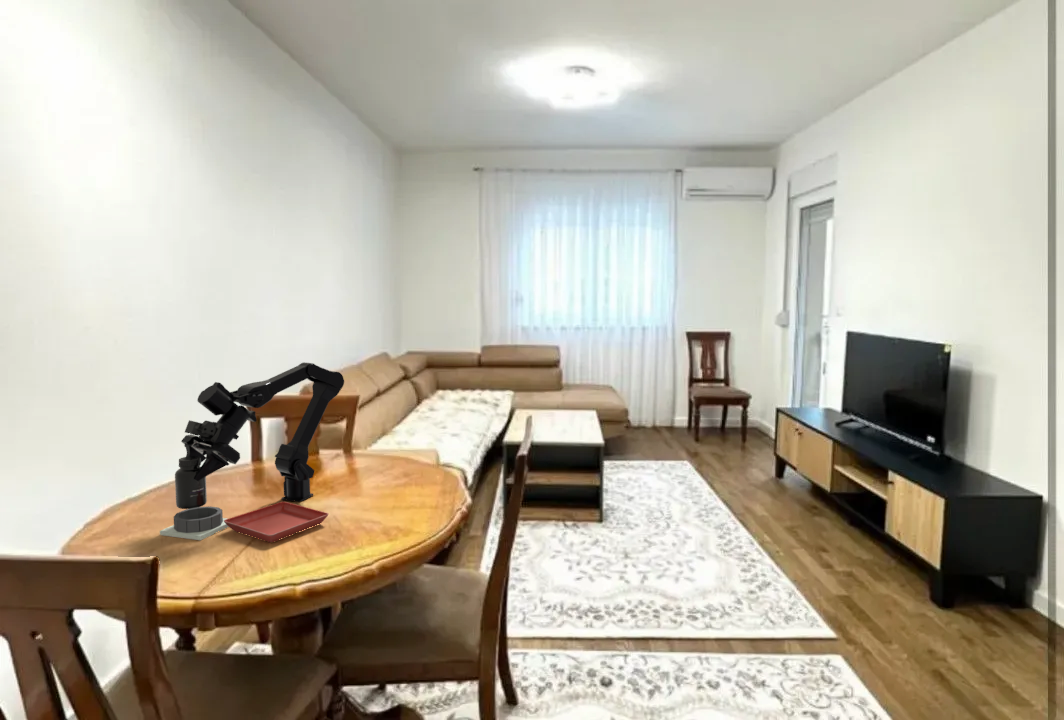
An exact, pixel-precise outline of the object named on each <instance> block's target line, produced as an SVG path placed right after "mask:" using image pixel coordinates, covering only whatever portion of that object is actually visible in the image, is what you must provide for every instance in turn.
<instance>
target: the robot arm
mask: <svg viewBox="0 0 1064 720" xmlns="http://www.w3.org/2000/svg"><path fill="white" fill-rule="evenodd" d="M305 380H308V381H310V382H312V385H311V387H312V396H311V399H310V401H309V403H308V405H307V407H306V409H305V411H304V414H303V416H302V418H301V420H300V421H299V424H298V426H297V429H296V430H295V433H294V435H293V437H292V439H291V440H290V441H289V442H288V443H287V444H285V443H281V444H280V445H279V449H278V451H277V453H276V454H275V455H274V458H275V460H274V465H275V468H276V470H277V471H278V472H279V474H280V476H281V477H284V480H283V496H282V497H281V501H282V500H283V501H291V502H298V503H299V502H302V501H305V500H307V499H309V498H311V497H313V496H314V493H311V481H310V479H312V478H313V477H314V473H315V469H314V468H313V467H311V466H310V465H309V464H308V460H309V458H310V457H309V445H310V443H311V442H312V439H313V437H314V436H315V433H316V430H317V428H318V426H319V424H320V422H321V420H322V417H323V416H324V413H325V411H326V409H327V408H328V405H329V403H330V402H331V401H332V400H333V399H335V398H336V397H337V396H338V394H339V393H340V392H341V391H342V388H343V387H344V385H345V379H344V376H343V374H342V373H341V372H339V371H333V370H328V369H326V368H324V367H321V366H318V365H317V364H315V363H312V362H300V363H299V364H298V365H296V366H294V367H292V368H289V369H288V370H286V371H284V372H281V373H279V374H277V375H274V376H272V377H270V378H268V379H265V380H262V381H255V382H254V381H253V382H251V383H246V384H242V385H241V386H239V387H238V388H237V390H233V391H230V390H228V389H227V388H226V387H225V386H224V384H222V383H221V382H216V381H215V382H214V383H213V384H212V385H209V386H208V387H206V388H205V389H203V390H202V391H201V392H200V393H199V394H198V397H197V400H196V401H197V403H198V404H200V405H202V406H203V407H204V408H205V409H206V410H208V411H209V412H210V413H211V414H212V415H214V416H220V415H221V416H220V418H219V419H218V420H217V421H216V422H215V421H210V420H204V421H203V422H198V421H195V420H188V422H187V424H186V427H185V429H184V433H185V434H186V435H184V437H183V438H182V439H181V441H180V442H181V443H182V444H183V446H184V448H185V449H186V450H185V452H186V454H185V457H188V456H199V457H200V458H201V463H202V464H201V465H200V467H201V468H200V469H199V471H198V472H197V474H196V476H195V478H194V479H195V480H196V481H199V480H201V479H202V478H204V477H206V478H207V476H209V475H211V474H212V473H215V472H217V471H218V470H220V469H222V468H224V467H226V466H230V464H232V465H237V463H238V462H239V461H240V459H241V453H240V452H239V451H238V450H236V449H235V448H233V446H231V445H230V444H231V442H232V441H233V440H236V441H237V439H238V438H239V435H238V433H239V432H240V431H241V429H242V428H243V427H244V425H245V424H246V423H247V422H248V421H249V422H252V423H253V422H254V423H256V422H258V421H257V420H258V419H257V416H256V411H254V410H249V409H248V408H254V409H259V408H262V407H263V406H264V405H266V404H268V403H269V402H270V401H272V399H273V398H274V397H275V396H276V395H277V394H279V393H280V392H282V391H285V390H287V389H288V388H291V387H293V386H295V385H297V384H299V383H301V382H303V381H305ZM237 403H238V404H239V405H238V404H237ZM247 407H248V408H247Z"/></svg>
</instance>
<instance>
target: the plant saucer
mask: <svg viewBox="0 0 1064 720" xmlns="http://www.w3.org/2000/svg"><path fill="white" fill-rule="evenodd" d="M328 516H329V513H328V512H325V511H321V510H318V509H315V508H310V507H307V506H303V505H299V504H296V503H291V502H287V501H280V502H277V503H274V504H271V505H270V504H269V505H267V506H264V507H260V508H259V509H255V510H252V511H248V512H245V513H242V514H239V515H236V516H233V517H229V518H227V519H226V520H224V522H225V523H226V524H227V525H228V526H229V527H228V528H230V529H231V530H232V531H233V532H235V531H236V532H235V533H238V532H240V533H239V534H241V533H243V534H242V535H244V534H247V535H246V536H248V535H250V536H249V537H251V536H253V537H252V538H254V537H256V538H255V539H257V538H259V539H258V540H260V539H262V540H261V541H263V540H265V541H264V542H266V541H268V542H267V543H270V542H273V543H275V542H274V541H276V542H278V541H277V540H279V539H281V538H284V537H286V536H289V535H292V534H294V533H296V532H299V531H302V530H304V529H307V528H309V527H312V526H315V525H317V524H320V523H321V524H322V523H323V522H324V521H325V520H326V519H327V517H328ZM321 524H320V525H321ZM315 527H316V526H315ZM302 532H303V531H302ZM294 535H295V534H294ZM292 536H293V535H292ZM289 537H290V536H289ZM286 538H287V537H286ZM284 539H285V538H284ZM281 540H282V539H281ZM279 541H280V540H279Z"/></svg>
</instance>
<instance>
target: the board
mask: <svg viewBox="0 0 1064 720" xmlns="http://www.w3.org/2000/svg"><path fill="white" fill-rule="evenodd" d="M226 519H228V518H227V517H226V518H225V517H223V522H222V524H221V525H220V526H218V527H216V528H214V529H211V530H207V531H203V532H195V533H182V532H177V531H176V530H175V529H174V524H173V525H171V526H168V527H165V528H164V529H163V528H162V530H159V536H165V537H173V538H179V539H181V538H182V539H187V540H197V541H202V540H204V539H206V538H209V537H211V536H213V535H215V534H217V533H219V532H221V531H223V530H225V528H226V529H227V527H228V528H230V527H229V526H228V525H227V524H226V523H225V522H224V520H226ZM222 529H223V530H222ZM220 530H221V531H220ZM218 531H219V532H218ZM216 532H217V533H216ZM214 533H215V534H214Z"/></svg>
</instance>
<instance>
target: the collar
mask: <svg viewBox="0 0 1064 720" xmlns="http://www.w3.org/2000/svg"><path fill="white" fill-rule="evenodd" d="M223 518H224V515H223V509H222V508H221V507H218V506H201V507H198V508H193V509H182V510H181V511H179V512H177V513H175V514H174V516H173V525H174V529H175V530H176V531H177V532H182V533H195V532H203V531H207V530H211V529H214V528H216V527H218V526H220V525H221V524H222V522H223Z"/></svg>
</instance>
